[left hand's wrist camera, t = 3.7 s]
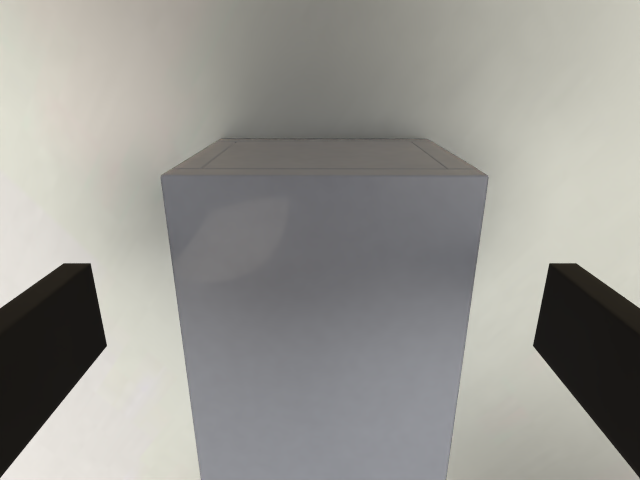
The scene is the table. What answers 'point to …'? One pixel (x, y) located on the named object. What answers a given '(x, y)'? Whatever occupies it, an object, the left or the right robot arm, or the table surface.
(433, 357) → the cabinet
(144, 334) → the table surface
